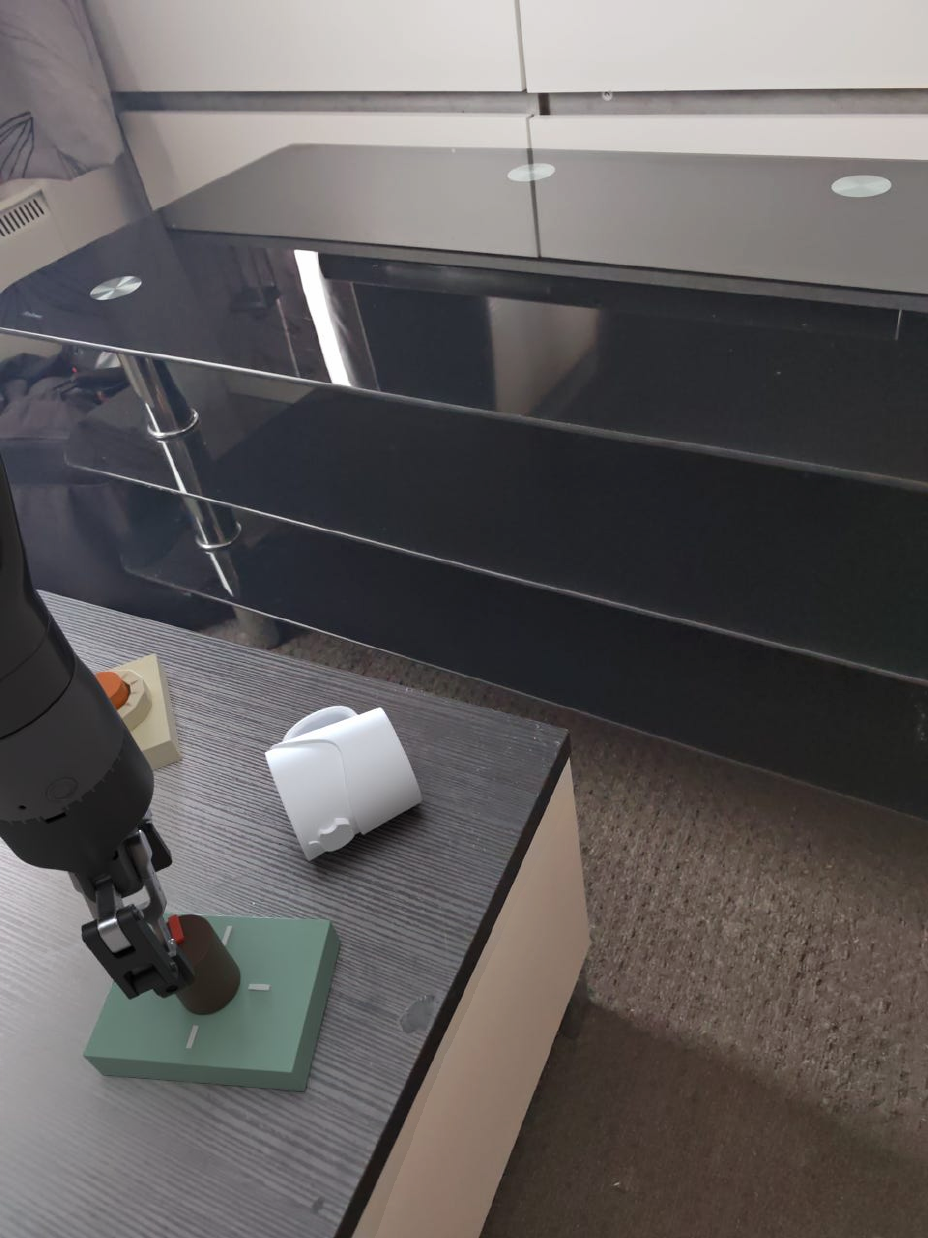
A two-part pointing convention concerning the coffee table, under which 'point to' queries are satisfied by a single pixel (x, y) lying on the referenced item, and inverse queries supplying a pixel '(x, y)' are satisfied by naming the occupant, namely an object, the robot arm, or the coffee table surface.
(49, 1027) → the coffee table surface
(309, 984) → the dial panel
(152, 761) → the base
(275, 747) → the mug
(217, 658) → the coffee table surface
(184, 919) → the dial knob
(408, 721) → the coffee table surface
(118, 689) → the orange push button
